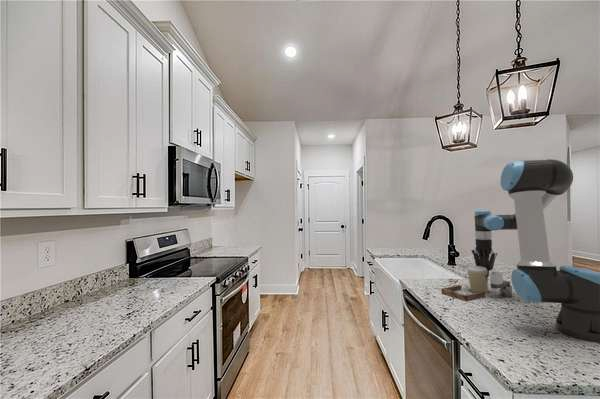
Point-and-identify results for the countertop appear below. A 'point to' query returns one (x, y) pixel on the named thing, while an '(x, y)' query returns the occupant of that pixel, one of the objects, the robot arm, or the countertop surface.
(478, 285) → the coffee cup
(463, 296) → the brown u-shaped wooden bracket
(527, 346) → the countertop surface
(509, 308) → the countertop surface
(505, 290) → the pedestal
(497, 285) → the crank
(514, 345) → the countertop surface
